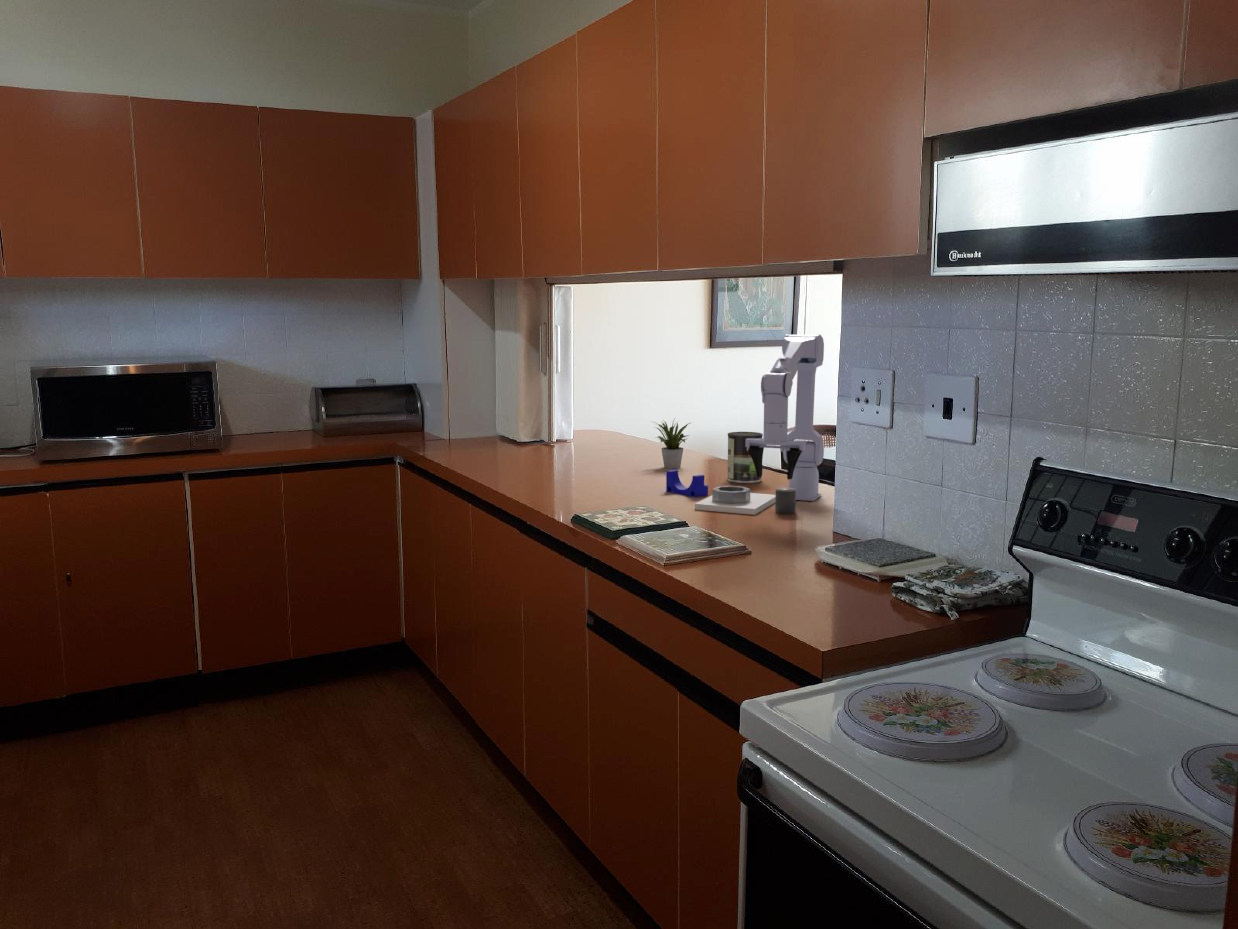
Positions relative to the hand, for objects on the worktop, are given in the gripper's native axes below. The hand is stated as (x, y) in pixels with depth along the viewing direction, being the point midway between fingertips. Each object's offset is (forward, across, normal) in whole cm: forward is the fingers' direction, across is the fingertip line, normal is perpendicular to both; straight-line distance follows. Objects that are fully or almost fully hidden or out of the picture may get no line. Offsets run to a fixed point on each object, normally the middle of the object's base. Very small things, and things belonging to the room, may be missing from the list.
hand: (774, 477), depth 242 cm
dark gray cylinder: (+10, +1, +7) cm, 12 cm away
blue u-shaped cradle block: (+10, -31, +21) cm, 39 cm away
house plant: (+10, -53, +60) cm, 81 cm away
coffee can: (+10, -23, +47) cm, 53 cm away
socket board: (+10, -13, +11) cm, 20 cm away
